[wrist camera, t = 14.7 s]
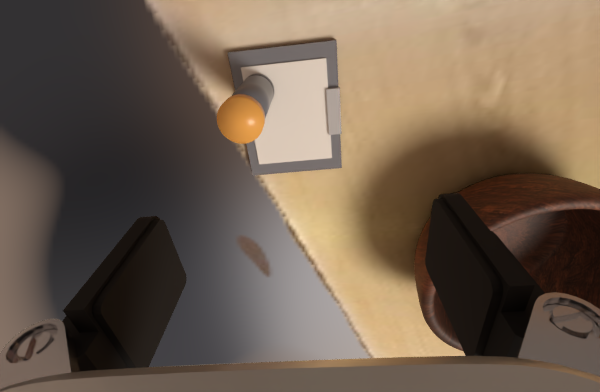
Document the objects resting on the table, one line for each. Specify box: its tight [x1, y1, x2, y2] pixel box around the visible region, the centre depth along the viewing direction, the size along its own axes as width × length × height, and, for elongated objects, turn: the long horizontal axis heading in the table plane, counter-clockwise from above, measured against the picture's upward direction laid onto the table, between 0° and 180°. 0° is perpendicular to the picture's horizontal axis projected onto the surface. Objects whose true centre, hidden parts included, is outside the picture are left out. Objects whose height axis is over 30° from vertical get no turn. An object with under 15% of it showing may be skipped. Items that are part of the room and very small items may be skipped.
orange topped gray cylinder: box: [217, 73, 274, 144], centre depth 29 cm, size 4×4×11 cm
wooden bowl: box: [415, 173, 600, 351], centre depth 39 cm, size 25×25×10 cm
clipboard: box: [228, 40, 342, 175], centre depth 35 cm, size 11×14×1 cm
